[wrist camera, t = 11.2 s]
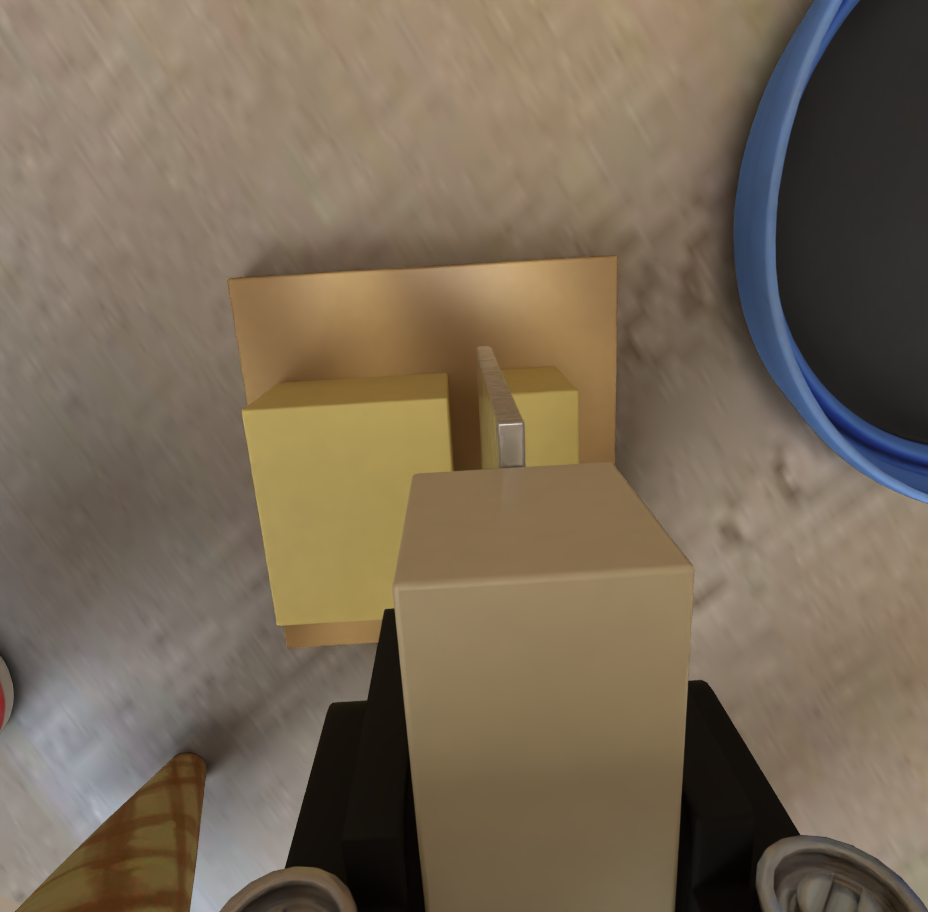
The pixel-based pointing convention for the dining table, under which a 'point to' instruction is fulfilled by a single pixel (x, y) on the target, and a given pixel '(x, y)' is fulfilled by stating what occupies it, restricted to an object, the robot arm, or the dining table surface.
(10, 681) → the pill bottle
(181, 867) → the ice cream cone
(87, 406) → the dining table surface
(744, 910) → the robot arm
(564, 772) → the knife
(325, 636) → the board
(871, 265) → the bowl
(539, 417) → the butter slice
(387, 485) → the butter block
